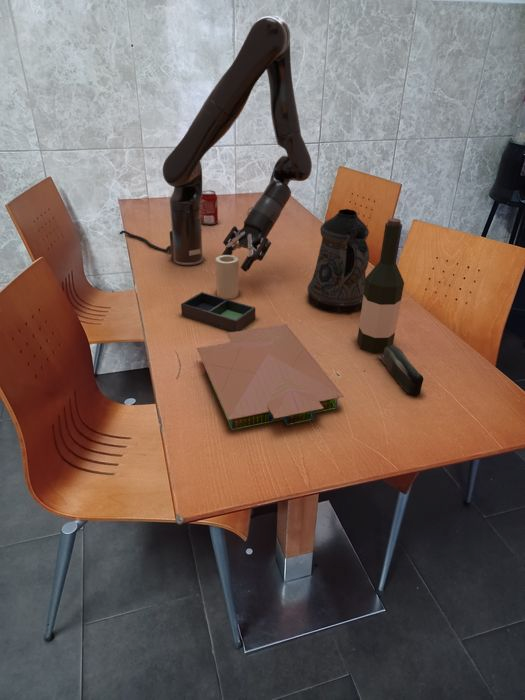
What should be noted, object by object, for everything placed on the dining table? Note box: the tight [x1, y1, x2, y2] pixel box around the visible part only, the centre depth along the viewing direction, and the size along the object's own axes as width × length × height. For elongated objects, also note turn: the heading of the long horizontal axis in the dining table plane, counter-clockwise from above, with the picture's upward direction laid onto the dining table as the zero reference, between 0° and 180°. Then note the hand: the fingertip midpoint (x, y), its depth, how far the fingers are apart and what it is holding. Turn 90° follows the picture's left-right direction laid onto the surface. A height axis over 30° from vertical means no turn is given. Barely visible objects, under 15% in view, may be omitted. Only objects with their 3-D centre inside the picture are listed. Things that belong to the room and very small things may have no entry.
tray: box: [180, 291, 256, 332], centre depth 128 cm, size 17×9×3 cm, turn 59°
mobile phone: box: [378, 344, 424, 396], centre depth 106 cm, size 5×3×15 cm
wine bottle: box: [356, 217, 405, 354], centre depth 111 cm, size 8×8×30 cm
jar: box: [215, 254, 240, 300], centre depth 138 cm, size 6×6×10 cm
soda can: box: [200, 189, 219, 226], centre depth 193 cm, size 7×7×12 cm
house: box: [196, 323, 345, 431], centre depth 103 cm, size 23×33×8 cm
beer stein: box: [307, 208, 370, 314], centre depth 132 cm, size 16×19×25 cm
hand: (232, 265), depth 138 cm, fingers open, 8 cm apart
